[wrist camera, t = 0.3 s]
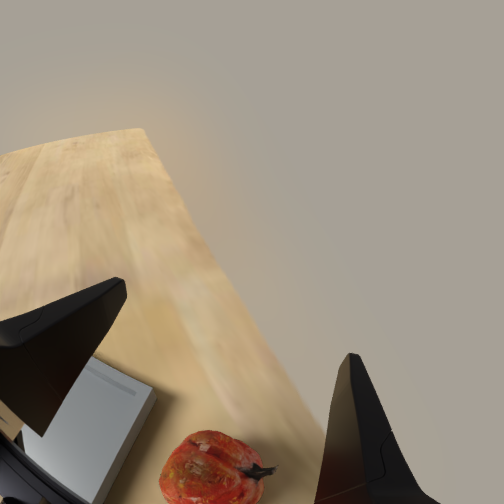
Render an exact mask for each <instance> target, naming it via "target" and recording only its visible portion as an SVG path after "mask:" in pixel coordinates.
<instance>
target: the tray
mask: <svg viewBox="0 0 504 504" xmlns="http://www.w3.org/2000/svg"><path fill="white" fill-rule="evenodd" d="M156 400H157V397H156V395H155V392H154V390H153V388H152V387H150V386H148V385H146V384H143V383H141V382H139V381H137V380H135V379H133V378H131V377H129V376H127V375H125V374H123V373H121V372H119V371H118V370H116V369H114V368H112V367H110V366H108V365H106V364H105V363H103V362H101V361H99V360H98V359H96V358H94V357H92V356H91V358H90V359H89V361H88V363H87V364H86V366H85V367H84V369H83V370H82V372H81V373H80V375H79V377H78V378H77V380H76V381H75V383H74V385H73V386H72V388H71V389H70V391H69V393H68V394H67V396H66V398H65V399H64V401H63V403H62V405H61V406H60V408H59V410H58V411H57V413H56V415H55V417H54V418H53V420H52V422H51V424H50V425H49V427H48V429H47V431H46V432H45V434H44V436H43V437H42V438H41V437H40V436H39V435H38V434H36V433H35V432H34V431H33V430H32V429H31V428H29V427H28V426H27V425H26V424H24V426H23V427H22V429H21V430H22V435H23V442H24V448H25V453H26V454H27V455H28V456H29V457H30V458H31V459H32V460H34V461H35V462H36V463H37V464H38V465H39V466H41V467H42V468H43V469H44V470H45V471H47V472H48V473H49V474H50V475H52V476H53V477H54V478H55V479H57V480H58V481H59V482H61V483H62V484H63V485H65V486H66V487H67V488H69V489H70V490H72V491H73V492H74V493H76V494H77V495H79V496H80V497H82V498H83V499H85V500H86V501H88V502H89V503H91V504H103V503H104V501H105V499H106V497H107V495H108V493H109V491H110V489H111V487H112V485H113V483H114V481H115V479H116V477H117V475H118V473H119V471H120V469H121V467H122V465H123V463H124V461H125V459H126V457H127V455H128V453H129V451H130V450H131V448H132V446H133V444H134V442H135V440H136V438H137V436H138V434H139V432H140V430H141V428H142V426H143V424H144V423H145V421H146V419H147V417H148V415H149V413H150V411H151V409H152V407H153V405H154V403H155V402H156Z"/></svg>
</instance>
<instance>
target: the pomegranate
mask: <svg viewBox="0 0 504 504" xmlns="http://www.w3.org/2000/svg"><path fill="white" fill-rule="evenodd" d="M277 467H278V465H277V466H276V467H274V468H263V465H262V460H261V458H260V456H259V454H258V453H257V452H256V451H254V450H253V449H252V448H250V447H249V446H248V445H246V444H245V443H243V442H242V441H240V440H237V439H233V438H231V437H230V436H227V435H225V434H223V433H221V432H218V431H212V430H211V431H210V430H205V431H198V432H196V433H194V434H191V435H189V436H188V437H187V438H185V440H184V441H183V442H182V443H181V445H180V446H179V447H177V448H176V449H175V450H174V451H173V452H172V454H171V456H170V457H169V459H168V461H167V462H166V464H165V466H164V467H163V469H162V474H160V475H161V477H160V479H159V485H160V488H161V491H162V494H163V496H164V498H165V500H166V501H167V502H168V503H169V504H256V503H257V502H258V501H259V500H260V498H261V496H262V494H263V491H264V483H263V479H262V478H263V477H264V476H267V475H272V474H274V473H275V472H276V469H277Z"/></svg>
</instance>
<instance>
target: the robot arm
mask: <svg viewBox="0 0 504 504" xmlns="http://www.w3.org/2000/svg"><path fill="white" fill-rule="evenodd" d="M126 299H127V291H126V284H125V281H124V280H123V279H121V278H118V277H113V278H111V279H108V280H106V281H103V282H101V283H98V284H96V285H93V286H91V287H88V288H86V289H83V290H81V291H79V292H76V293H74V294H71V295H69V296H66V297H64V298H61V299H59V300H57V301H54V302H52V303H49V304H47V305H45V306H42V307H40V308H37V309H35V310H32V311H30V312H27V313H24V314H21V315H19V316H16V317H12V318H9V319H6V320H3V321H0V495H1V496H2V497H3V499H2V501H1V503H0V504H91V503H89V502H88V501H86V500H85V499H83V498H82V497H80V496H79V495H77V494H76V493H74V492H73V491H72V490H70V489H69V488H67V487H66V486H65V485H63V484H62V483H61V482H59V481H58V480H57V479H55V478H54V477H53V476H52V475H50V474H49V473H48V472H47V471H45V470H44V469H43V468H42V467H41V466H39V465H38V464H37V463H36V462H35V461H34V460H32V459H31V458H30V457H29V456H28V455H27V454H26V453H25V448H24V442H23V435H22V430H21V429H22V427H23V426H24V424H26V425H27V426H28V427H29V428H31V429H32V430H33V431H34V432H35V433H36V434H38V435H39V436H40V437H41V438H42V437H43V436H44V434H45V432H46V431H47V429H48V427H49V425H50V424H51V422H52V420H53V418H54V417H55V415H56V413H57V411H58V410H59V408H60V406H61V405H62V403H63V401H64V399H65V398H66V396H67V394H68V393H69V391H70V389H71V388H72V386H73V385H74V383H75V381H76V380H77V378H78V377H79V375H80V373H81V372H82V370H83V369H84V367H85V366H86V364H87V363H88V361H89V359H90V358H91V356H92V355H93V353H94V352H95V350H96V349H97V347H98V346H99V344H100V343H101V341H102V340H103V338H104V337H105V335H106V334H107V333H108V331H109V329H110V328H111V326H112V324H113V323H114V321H115V319H116V317H117V315H118V313H119V312H120V310H121V308H122V306H123V304H124V303H125V301H126ZM391 430H392V429H391V427H390V424H389V422H388V419H387V417H386V415H385V412H384V410H383V407H382V405H381V403H380V400H379V398H378V396H377V393H376V391H375V389H374V386H373V384H372V382H371V379H370V377H369V375H368V373H367V371H366V368H365V366H364V364H363V362H362V359H361V357H360V356H359V355H358V354H354V353H348V354H347V356H346V357H345V359H344V361H343V362H342V364H341V365H340V368H339V370H338V376H337V380H336V384H335V389H334V393H333V397H332V401H331V406H330V413H329V420H328V428H327V435H326V442H325V448H324V454H323V460H322V466H321V471H320V477H319V482H318V487H317V492H316V497H315V501H314V502H315V503H314V504H440V503H438V502H437V501H435V500H434V499H432V498H431V497H429V496H428V495H426V494H425V493H424V492H423V491H422V490H421V488H420V487H419V486H418V484H417V482H416V480H415V478H414V476H413V474H412V472H411V470H410V468H409V466H408V464H407V463H406V461H405V459H404V457H403V455H402V453H401V450H400V448H399V446H398V444H397V441H396V439H395V437H394V434H393V432H392V431H391Z"/></svg>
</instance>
